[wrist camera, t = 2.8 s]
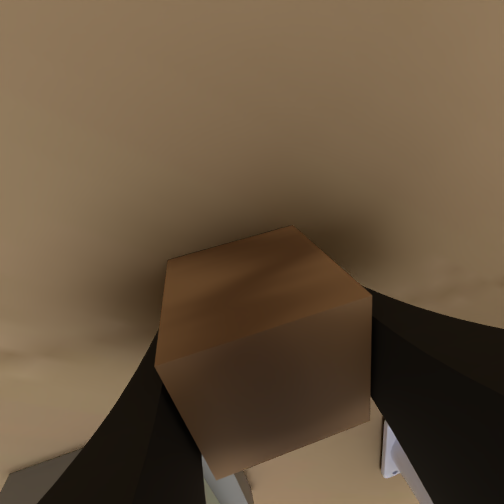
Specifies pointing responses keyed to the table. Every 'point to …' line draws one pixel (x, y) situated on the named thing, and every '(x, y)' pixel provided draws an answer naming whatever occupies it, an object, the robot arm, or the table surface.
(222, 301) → the walnut cube
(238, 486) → the grey square slab
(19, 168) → the table surface
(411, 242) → the table surface
